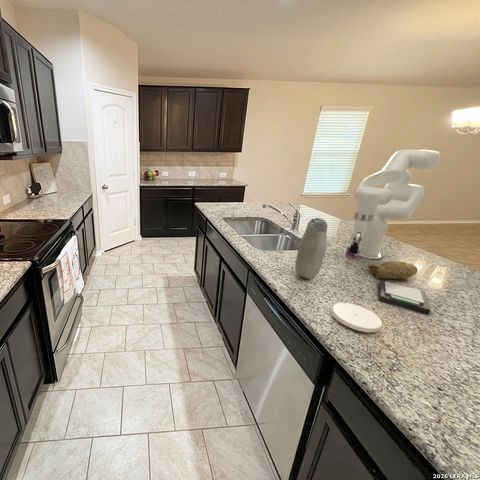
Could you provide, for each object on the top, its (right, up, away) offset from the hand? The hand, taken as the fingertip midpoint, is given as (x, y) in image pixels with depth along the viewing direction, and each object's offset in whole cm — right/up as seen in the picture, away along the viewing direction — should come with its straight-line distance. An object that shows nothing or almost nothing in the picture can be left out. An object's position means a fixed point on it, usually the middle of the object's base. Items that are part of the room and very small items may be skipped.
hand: (353, 250), depth 127 cm
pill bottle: (0, -5, +2) cm, 5 cm away
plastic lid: (-29, -23, -38) cm, 54 cm away
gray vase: (-30, -12, -9) cm, 33 cm away
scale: (0, -18, -25) cm, 31 cm away
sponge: (+12, -12, -8) cm, 19 cm away
